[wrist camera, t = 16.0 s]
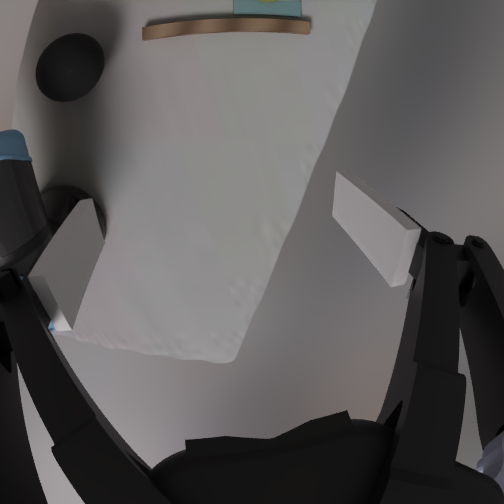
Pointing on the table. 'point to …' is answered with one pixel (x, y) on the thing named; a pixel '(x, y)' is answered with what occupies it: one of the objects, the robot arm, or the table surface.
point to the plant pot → (268, 1)
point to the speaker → (69, 67)
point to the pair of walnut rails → (225, 27)
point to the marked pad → (268, 7)
